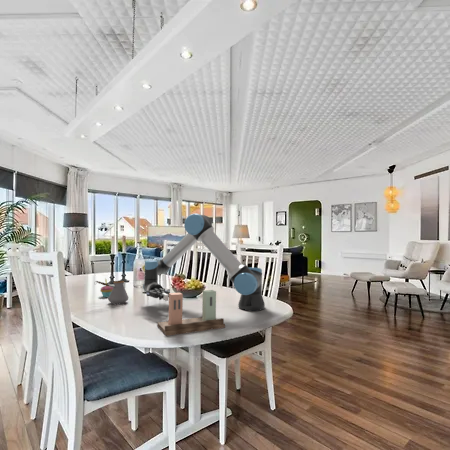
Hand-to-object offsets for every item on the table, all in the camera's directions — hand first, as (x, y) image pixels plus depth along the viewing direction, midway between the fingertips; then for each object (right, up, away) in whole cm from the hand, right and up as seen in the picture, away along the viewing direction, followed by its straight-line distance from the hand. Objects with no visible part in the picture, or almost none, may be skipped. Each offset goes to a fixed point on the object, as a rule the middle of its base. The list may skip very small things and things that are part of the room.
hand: (166, 297), depth 146 cm
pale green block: (+21, -9, -8) cm, 24 cm away
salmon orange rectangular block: (+7, -9, -15) cm, 19 cm away
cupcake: (-50, -12, +53) cm, 74 cm away
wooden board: (+13, -11, -10) cm, 20 cm away
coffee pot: (-39, -12, +31) cm, 51 cm away
